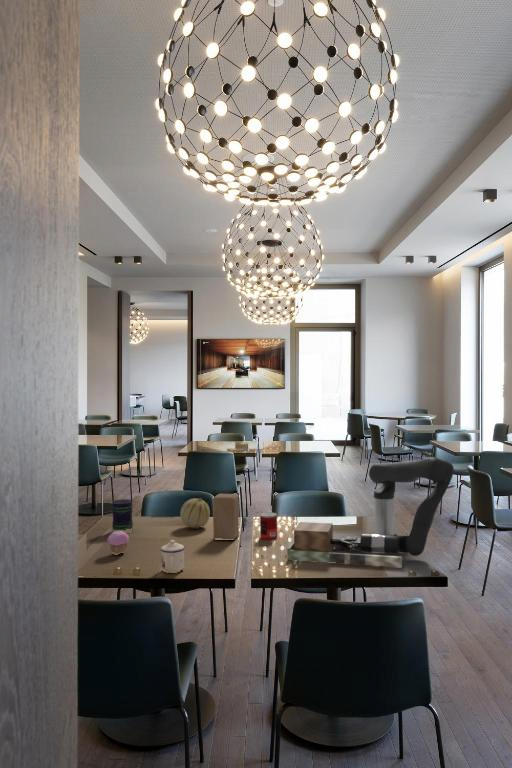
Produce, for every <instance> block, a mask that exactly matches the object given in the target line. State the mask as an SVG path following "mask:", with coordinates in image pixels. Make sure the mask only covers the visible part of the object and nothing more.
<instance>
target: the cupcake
mask: <svg viewBox="0 0 512 768" xmlns="http://www.w3.org/2000/svg"><path fill="white" fill-rule="evenodd" d="M107 542H108V544H109V545H110V552H111V551H112V552H115V553H119V552H123V551H125V550H126V549H127V545H128V543H129V542H130V537H129V534H126V533H125V532H123V531H115V532H113V531H112V533H110V534H109V536H108V537H107ZM126 551H127V550H126ZM126 551H125V552H126Z"/></svg>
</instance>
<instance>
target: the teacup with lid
mask: <svg viewBox="0 0 512 768" xmlns="http://www.w3.org/2000/svg"><path fill="white" fill-rule="evenodd" d="M160 551H161V570H162V569H165V570H180V569H182V568H184V569H185V546H184V545H183V544H181V543H178V542H176V540H175V539H171V540H169V542H168V543H167V544H164V545H162V546H161V547H160Z"/></svg>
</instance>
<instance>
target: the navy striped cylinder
mask: <svg viewBox="0 0 512 768" xmlns="http://www.w3.org/2000/svg"><path fill="white" fill-rule="evenodd" d="M111 504H112V505H111V512H112V513H111V514H112V526H111V527H112V530H113V529H114V530H126V529H131V528H132V527H133V528H134V522H133V500H132V499H116V500H113V501H112V502H111Z"/></svg>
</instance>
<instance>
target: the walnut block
mask: <svg viewBox="0 0 512 768" xmlns="http://www.w3.org/2000/svg"><path fill="white" fill-rule="evenodd" d="M333 536H334V531H333V522H332V523H331V522H329V523H328V522H311V521H310V522H309V521H307V522H306V521H300V522H299V523H298V524H297V526H296V527H294V529H293V540H294V550H298V551H315V552H332V551H333V552H334V550H333V544H331V538H334V537H333Z"/></svg>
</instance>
